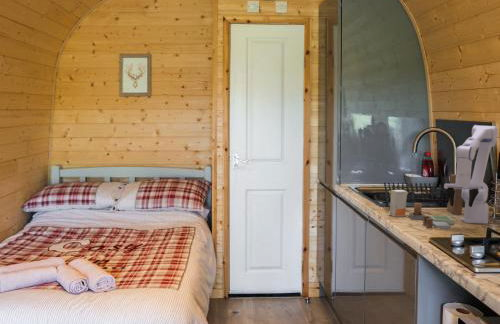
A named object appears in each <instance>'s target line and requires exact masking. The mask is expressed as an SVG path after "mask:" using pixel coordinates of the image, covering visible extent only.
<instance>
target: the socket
mask: <svg viewBox="0 0 500 324" xmlns="http://www.w3.org/2000/svg"><path fill="white" fill-rule="evenodd" d="M408 214H409V215H408V217H409V218H410V219H411V221H412V220H413V221H415V220H417V221H423V217H424V216H427V215H426V214H425V213H424V212H421V215H414V212H408Z"/></svg>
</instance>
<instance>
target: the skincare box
mask: <svg viewBox="0 0 500 324" xmlns="http://www.w3.org/2000/svg"><path fill="white" fill-rule="evenodd" d="M390 191H391V199H390V204H389V205H390V206H389V216H392V217H397V218H399V217H406V212H407V198H408V197H407V196H408V194H407V192H408V191H407V190H405V189H391V190H390Z"/></svg>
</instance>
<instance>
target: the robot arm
mask: <svg viewBox="0 0 500 324" xmlns="http://www.w3.org/2000/svg"><path fill="white" fill-rule="evenodd" d="M498 134H499V129H498V126H496V125H478V124H474V125H473V126H472V128H471V136H470V137H468V138H467V139H466V140H465V141H464V142H463V143H462V145H459V146H457V147H456V149H455V163H456V173H455V175H456V183H455V184H450V183H444V184H443V185H444V186H443V189H445V191H446V193H447V195H448V201H449V200H450V205H451V206H453V204H454V194H455V191H454V189H462V198H463V202H464V213H463V217H460V220H462V221H464V222H465V223H466V224H468V223H469V224H489V222H488V220H489V204H488V203H487V200H488V196H489V187H488V185H487V184H486V183H485V182H484V178H485V173H486V169H487V165H488V160H489V156H490V153H491V149H492V147H495V146H496V144H497V139H498V136H499V135H498ZM477 150H478V151H477ZM476 152H477V153H476ZM476 154H477V155H476ZM475 155H476V158H475ZM474 159H476V160H475V162H474V163H475V164H474V168H473V167H472V165H473V160H474ZM472 168H473V170H472ZM472 171H473V172H472ZM471 175H472V176H471ZM458 187H463V188H458Z"/></svg>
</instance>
